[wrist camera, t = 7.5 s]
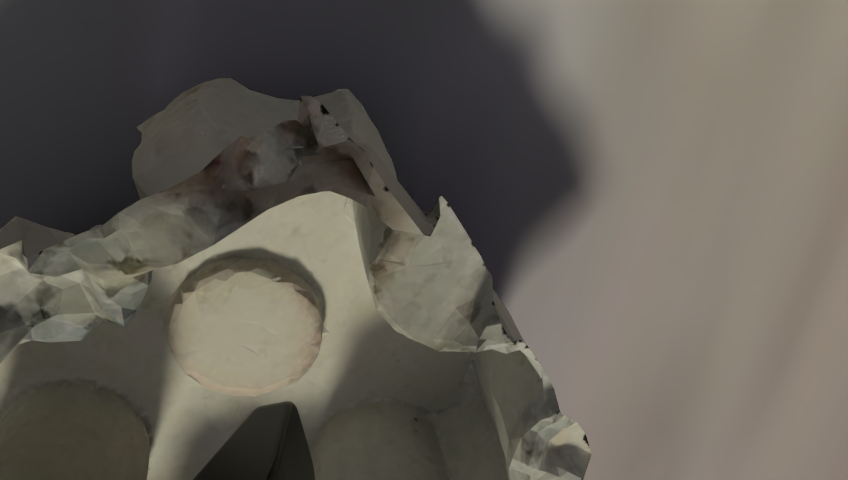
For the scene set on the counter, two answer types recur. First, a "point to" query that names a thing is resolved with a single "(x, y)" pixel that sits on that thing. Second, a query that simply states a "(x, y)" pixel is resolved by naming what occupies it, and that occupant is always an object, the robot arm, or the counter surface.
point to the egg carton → (267, 314)
